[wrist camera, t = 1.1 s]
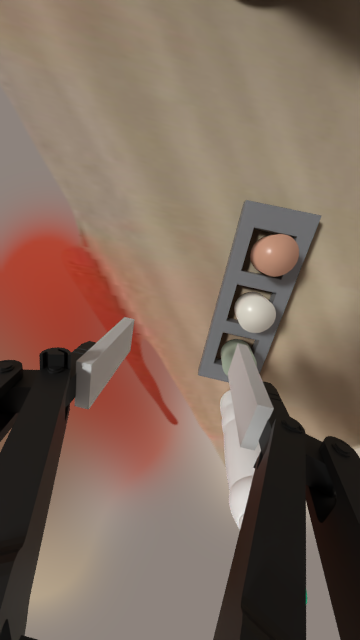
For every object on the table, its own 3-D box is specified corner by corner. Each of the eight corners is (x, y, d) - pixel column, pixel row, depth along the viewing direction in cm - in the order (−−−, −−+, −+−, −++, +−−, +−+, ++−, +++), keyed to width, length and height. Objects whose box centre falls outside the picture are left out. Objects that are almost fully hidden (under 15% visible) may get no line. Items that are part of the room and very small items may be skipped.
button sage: (225, 336, 35) (227, 347, 31) (255, 343, 35) (261, 355, 31) (217, 362, 37) (218, 375, 33) (246, 369, 37) (250, 383, 33)
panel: (243, 202, 30) (246, 200, 29) (314, 217, 30) (321, 215, 28) (198, 369, 40) (198, 375, 38) (251, 381, 40) (253, 388, 38)
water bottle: (263, 393, 40) (344, 600, 17) (248, 420, 43) (299, 634, 19) (228, 381, 40) (259, 571, 17) (214, 409, 43) (225, 609, 19)
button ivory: (239, 288, 32) (244, 294, 29) (272, 295, 32) (281, 302, 28) (230, 319, 34) (233, 328, 30) (261, 326, 34) (268, 336, 30)
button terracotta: (256, 231, 30) (264, 230, 26) (293, 239, 29) (305, 238, 26) (245, 268, 31) (251, 271, 28) (279, 275, 31) (290, 280, 27)
